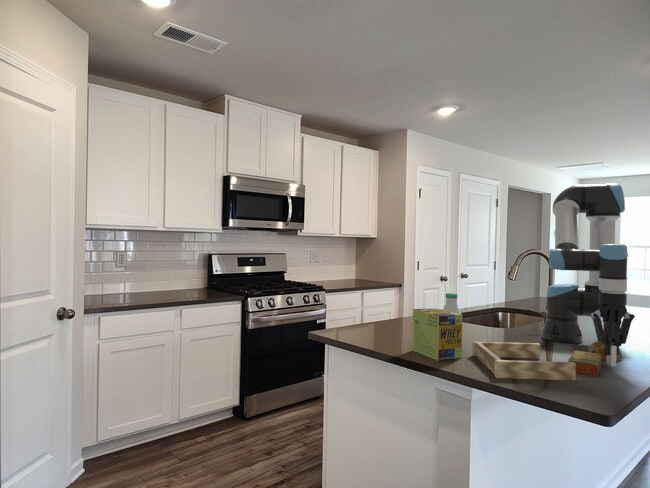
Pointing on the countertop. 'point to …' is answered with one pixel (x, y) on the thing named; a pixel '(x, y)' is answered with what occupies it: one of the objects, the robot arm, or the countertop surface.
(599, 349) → the bread roll
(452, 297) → the milk bottle
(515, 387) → the countertop surface
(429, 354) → the protein box
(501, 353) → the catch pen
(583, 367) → the carton
